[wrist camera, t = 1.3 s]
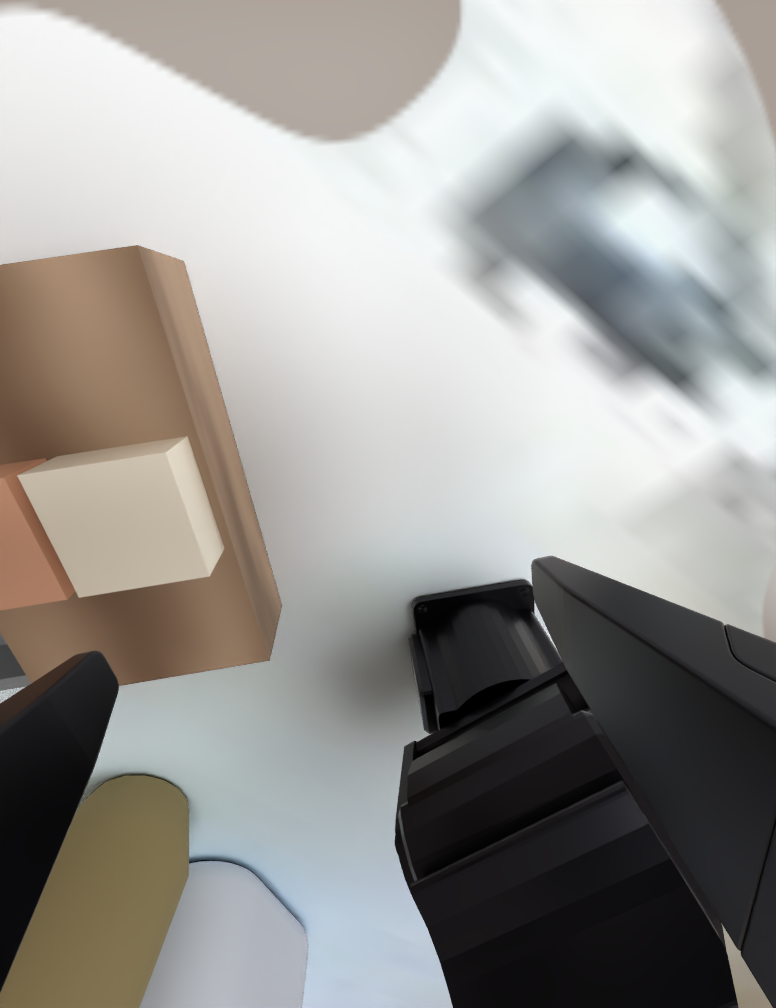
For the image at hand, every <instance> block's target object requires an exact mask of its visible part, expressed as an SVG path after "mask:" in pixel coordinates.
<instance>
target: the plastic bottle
mask: <svg viewBox="0 0 776 1008" xmlns="http://www.w3.org/2000/svg"><path fill="white" fill-rule="evenodd" d="M307 959H308V940H307V936H306V933H305V931H304V929H303V927H302V926H301V924H300V923H299V922H298V921H297V920H296V919H295V917H294V916H293V915H292V914H291V913H290V912H289V911H288V910H287V909H286V908H285V907H284V906H283V905H282V903H281V902H280V901H279V900H278V899H277V898H276V897H275V896H274V895H273V894H272V893H271V892H270V890H269V889H268V888H267V887H266V886H265V885H264V884H263V883H262V882H261V881H260V880H259V879H258V878H257V877H256V876H255V875H254V874H253V873H252V872H251V871H249V870H247V869H245V868H243V867H241V866H239V865H235V864H232V863H227V862H221V861H202V862H195V863H190V864H189V876H188V879H187V882H186V884H185V887H184V890H183V892H182V895H181V898H180V900H179V903H178V906H177V908H176V911H175V914H174V916H173V919H172V922H171V924H170V927H169V930H168V932H167V935H166V938H165V940H164V943H163V946H162V948H161V951H160V954H159V956H158V959H157V962H156V964H155V967H154V970H153V972H152V975H151V978H150V980H149V983H148V986H147V988H146V991H145V994H144V996H143V999H142V1002H141V1004H140V1007H139V1008H302V1003H303V994H304V985H305V976H306V968H307Z"/></svg>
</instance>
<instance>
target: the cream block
mask: <svg viewBox="0 0 776 1008" xmlns="http://www.w3.org/2000/svg"><path fill="white" fill-rule="evenodd" d="M17 476H18V478H19V480H20V482H21V484H22V486H23V488H24V490H25V492H26V494H27V496H28V498H29V500H30V502H31V504H32V506H33V508H34V510H35V512H36V514H37V516H38V518H39V520H40V522H41V524H42V526H43V528H44V530H45V532H46V534H47V536H48V538H49V539H50V541H51V543H52V545H53V547H54V549H55V551H56V553H57V555H58V557H59V559H60V561H61V563H62V565H63V567H64V569H65V571H66V573H67V575H68V577H69V579H70V581H71V583H72V585H73V587H74V589H75V591H76V593H77V595H78V597H79V598H81V597H87V596H93V595H99V594H105V593H111V592H117V591H124V590H130V589H136V588H142V587H148V586H154V585H160V584H167V583H173V582H179V581H185V580H191V579H197V578H203V577H210V575H211V573H212V571H213V569H214V567H215V565H216V564H217V562H218V560H219V558H220V556H221V554H222V552H223V550H224V546H223V543H222V539H221V536H220V533H219V530H218V527H217V524H216V521H215V518H214V515H213V512H212V509H211V506H210V503H209V500H208V497H207V494H206V491H205V488H204V485H203V482H202V478H201V475H200V472H199V469H198V466H197V463H196V460H195V457H194V454H193V451H192V448H191V445H190V442H189V439H188V436H185V437H179V438H172V439H166V440H159V441H153V442H146V443H140V444H133V445H127V446H120V447H114V448H107V449H101V450H95V451H88V452H82V453H75V454H69V455H62V456H57V457H55V458H53V459H50V460H48V461H46V462H44V463H42V464H40V465H38V466H36V467H34V468H32V469H30V470H28V471H25V472H23V473H21V474H19V475H17Z"/></svg>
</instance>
